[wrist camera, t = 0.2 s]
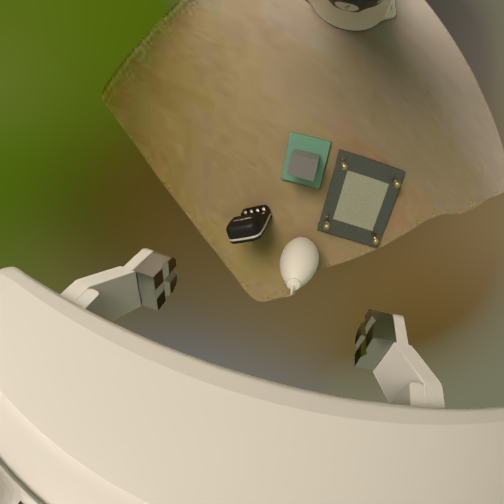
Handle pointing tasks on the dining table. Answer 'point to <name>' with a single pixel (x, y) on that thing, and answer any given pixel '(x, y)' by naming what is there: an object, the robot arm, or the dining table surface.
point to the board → (310, 147)
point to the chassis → (360, 198)
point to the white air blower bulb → (298, 262)
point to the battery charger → (249, 224)
